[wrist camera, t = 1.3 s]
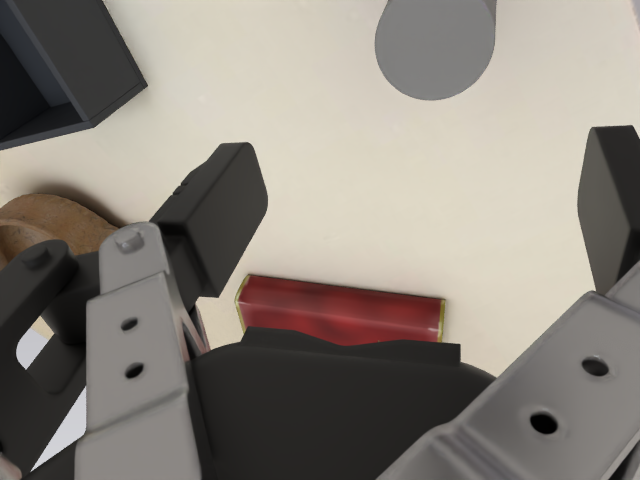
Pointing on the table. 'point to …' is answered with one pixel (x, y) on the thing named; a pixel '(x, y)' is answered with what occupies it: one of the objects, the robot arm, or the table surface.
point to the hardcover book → (338, 311)
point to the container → (435, 45)
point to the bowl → (49, 225)
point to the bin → (60, 69)
